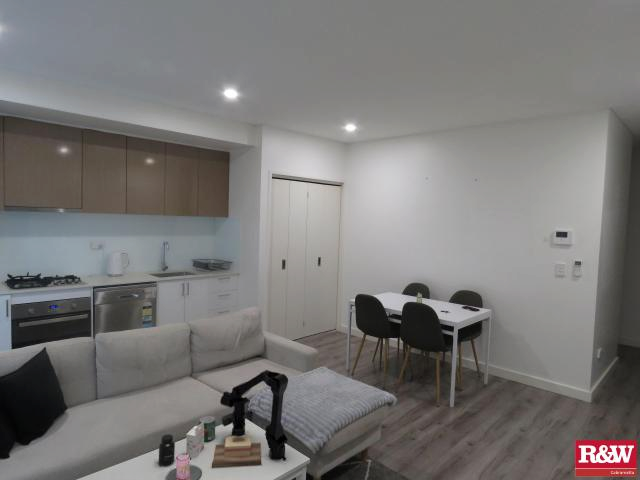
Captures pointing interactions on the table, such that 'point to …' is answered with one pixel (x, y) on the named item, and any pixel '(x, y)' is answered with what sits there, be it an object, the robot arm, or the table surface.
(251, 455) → the display board
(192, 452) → the ink cartridge box
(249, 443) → the kraft carton
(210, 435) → the canned tomato
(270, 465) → the table surface
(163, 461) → the supplement bottle
